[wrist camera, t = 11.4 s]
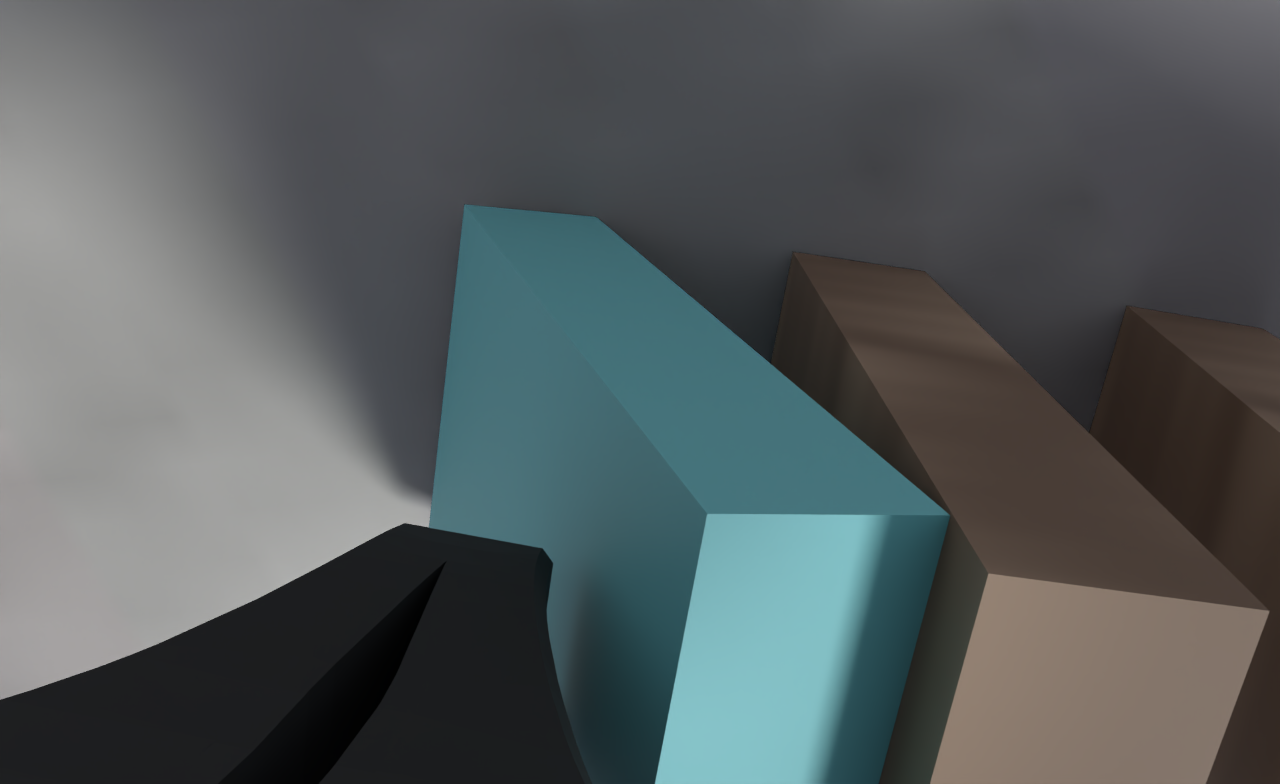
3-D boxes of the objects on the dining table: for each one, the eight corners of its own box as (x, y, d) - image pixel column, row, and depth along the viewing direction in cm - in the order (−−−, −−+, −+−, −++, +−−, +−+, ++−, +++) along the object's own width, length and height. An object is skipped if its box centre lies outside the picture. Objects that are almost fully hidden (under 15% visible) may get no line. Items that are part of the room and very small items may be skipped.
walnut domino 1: (726, 583, 17) (824, 1163, 9) (792, 251, 16) (989, 573, 7) (846, 598, 17) (1056, 1187, 9) (924, 270, 16) (1269, 610, 7)
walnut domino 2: (1030, 632, 17) (1292, 1241, 9) (1127, 305, 16) (1562, 666, 7) (1153, 655, 17) (1535, 1287, 9) (1262, 328, 16) (1864, 720, 7)
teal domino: (426, 547, 17) (593, 1100, 9) (464, 204, 15) (706, 513, 7) (547, 546, 18) (803, 1065, 10) (596, 216, 16) (950, 515, 8)
